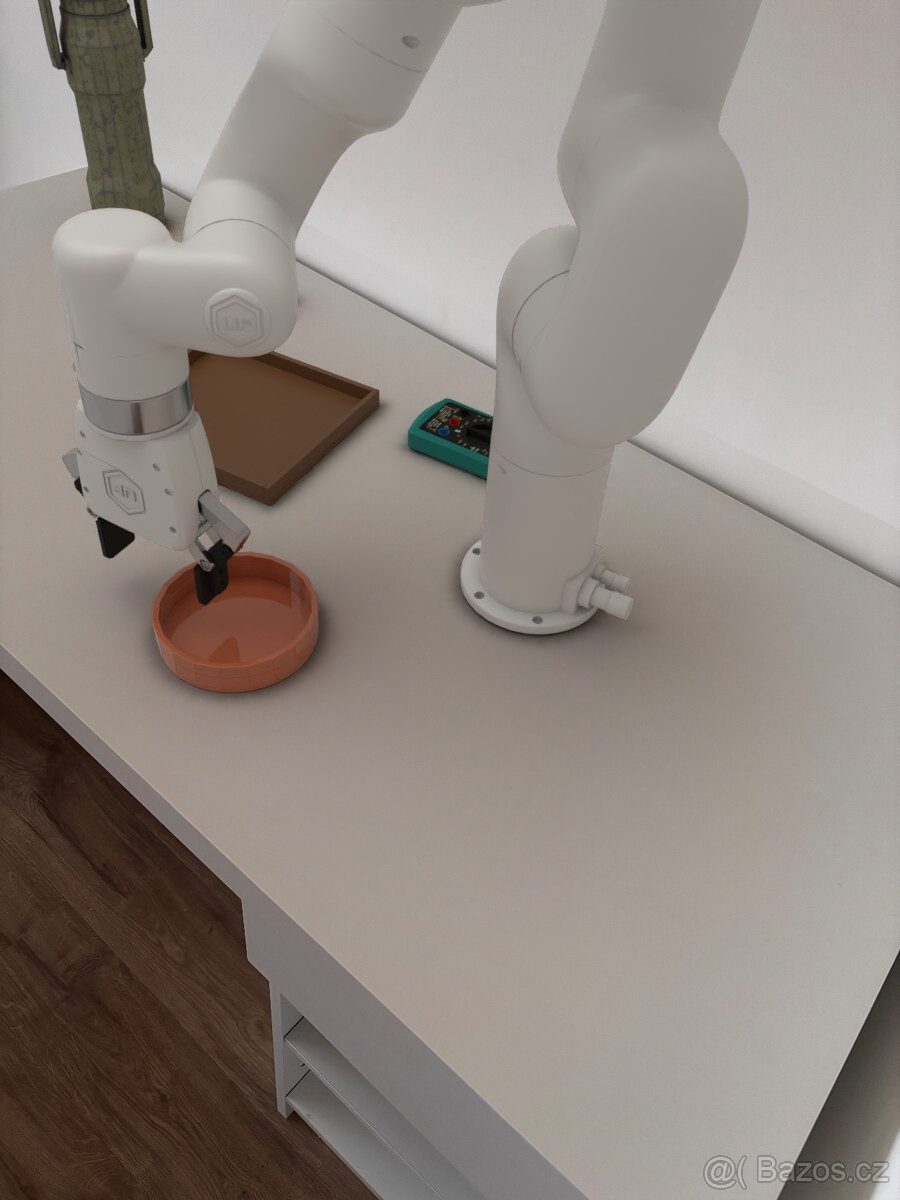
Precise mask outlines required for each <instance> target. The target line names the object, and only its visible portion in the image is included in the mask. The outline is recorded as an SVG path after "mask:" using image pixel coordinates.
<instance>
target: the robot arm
mask: <svg viewBox="0 0 900 1200" xmlns="http://www.w3.org/2000/svg"><path fill="white" fill-rule="evenodd" d="M504 1H505V0H286V2H285V4H284V6H283V9H282V11H281V13H280V15H279V18H278V20H277V22H276V24H275V26H274V28H273V30H272V32H271V33H270V34H271V35H270V36H269V39H268V41H267V42H266V44H265V46H264V47H263V50H261V53H260V54H259V56H258V58H257V61H256V63H255V65H254V68H253V70H252V72H251V74H250V76H249V77H248V79H247V81H246V83H245V84H244V86H243V88H242V90H241V92H240V93H239V94H238V97H237V99H236V101H235V102H234V105H233V107H232V108H231V111H230V113H229V114H228V117H227V119H226V122H225V123H224V124H223V125H224V126H223V128H222V129H221V131H220V133H219V136H218V139H217V141H216V143H215V145H214V148H213V150H212V152H211V153H210V157H209V159H208V161H207V163H206V166H205V168H204V170H203V173H202V175H201V177H200V179H199V182H198V183H197V186H196V188H195V191H194V193H193V195H192V198H191V201H190V204H189V206H188V209H187V213H186V217H185V221H184V225H183V226H184V227H183V233H182V241H181V242H179V241H176V240H175V239H173V237H172V234H171V233H170V231H169V230H168V228H167V226H166V227H165V226H164V225H163V224H162V223H161V222H160V221H159V220H158V219H156V218H154V217H152V216H150V215H148V214H146V213H144V212H141V211H137V210H132V209H126V208H103V209H95V210H92V209H91V210H86V211H84V212H80V213H78V214H76V215H73V216H71V217H69V218H67V220H65V221H64V222H63V223H62V224H60V226H59V227H58V228H57V230H56V231H55V233H54V235H53V238H52V243H51V257H52V263H53V269H54V275H55V279H56V284H57V288H58V292H59V297H60V303H61V308H62V312H63V316H64V322H65V327H66V332H67V337H68V340H69V345H70V351H71V356H72V361H73V362H72V368H73V371H74V372H75V375H76V381H77V385H78V390H79V394H80V397H79V398H78V400H77V402H76V409H75V416H74V433H75V434H74V438H75V447H73V448H71V449H70V450H69V451H67V452H66V453H65V454H63V455H62V456H61V460H62V463H63V464H64V466H65V468H66V469H67V471H68V473H69V474H70V476H71V478H72V479H73V478H74V481H73V485H74V488H75V490H76V491H78V493H79V494H80V495H81V496H82V497H83V499H84V501H85V504H86V511H87V513H88V514H89V516H91V518H93V519H96V520H95V525H96V530H97V535H98V539H99V543H100V548H101V552H102V556H103V557H104V558H106V559H108V560H112V559H113V558H115V557H117V556H118V555H119V554H120V553H121V552H122V551H124V550H125V549H126V548H127V547H129V546H130V545H131V544H132V543H133V542H135V539H136V536H139V537H141V538H143V539H145V540H147V541H150V542H152V543H154V544H156V545H159V546H161V547H163V548H165V549H169V550H171V551H176V552H177V551H178V552H181V551H185V550H188V552H189V553H190V555H191V556H192V557H193V558H194V560H195V562H196V561H197V562H198V563H197V564H196V565H195V567H194V577H195V585H196V592H197V599H198V601H199V603H201V604H203V605H207V604H208V603H209V602H210V601H211V600H213V599H214V598H215V597H216V596H217V595H219V594H221V593H222V592H223V591H224V590H225V589H226V588H227V586H228V583H229V577H228V567H227V561H228V560H229V559H230V558H231V557H232V556H234V555H235V554H236V553H237V552H240V551H241V549H242V548H244V545H245V543H246V542H247V540H248V538H249V537H250V535H251V533H252V532H251V529H250V527H249V526H248V525H247V524H246V523H244V521H242V519H240V518H239V517H238V516H237V515H235V513H233V511H231V510H230V509H229V508H228V507H227V506H226V505H224V504H223V503H222V502H221V501H220V493H219V486H218V485H219V484H218V483H217V479H216V474H215V468H214V464H213V459H212V455H211V451H210V447H209V443H208V440H207V437H206V433H205V430H204V427H203V424H202V421H201V418H200V416H199V414H198V413H197V412H196V411H194V402H193V394H192V386H191V377H190V369H189V361H188V352H187V349H193V350H197V351H202V352H207V353H212V354H217V355H223V356H231V357H255V356H260V355H264V354H267V353H269V352H271V351H275V350H277V349H279V348H280V347H281V346H282V345H284V343H285V342H286V341H287V340H288V339H289V338H290V336H291V334H292V333H293V330H294V329H295V327H296V326H295V325H296V323H297V318H298V312H299V294H298V293H299V291H298V289H299V288H298V271H297V262H296V261H297V260H296V259H297V257H296V241H297V238H298V235H299V234H300V231H301V229H302V226H303V224H304V222H305V220H306V218H307V216H308V214H309V212H310V210H311V208H312V207H313V204H314V203H315V200H316V199H317V197H318V195H319V193H320V191H321V190H322V188H323V186H324V184H325V182H326V181H327V179H328V177H329V176H330V173H331V172H332V170H333V169H334V167H335V165H337V163H338V161H339V160H340V159H341V158H342V156H343V155H344V154H345V153H346V151H347V150H348V149H349V148H350V147H351V146H352V145H353V144H355V142H356V141H358V140H359V139H361V138H363V137H365V136H368V135H372V134H377V133H381V132H383V131H388V130H389V129H391V128H393V127H394V126H396V125H397V124H398V123H399V122H400V121H401V120H402V118H403V117H404V116H405V115H406V113H407V111H408V110H409V108H410V106H411V105H412V102H413V100H414V98H415V96H416V94H417V93H418V91H419V89H420V87H421V84H423V81H424V79H425V78H426V75H427V74H428V73H429V70H430V68H431V67H432V65H433V63H434V61H435V60H436V57H437V55H439V54H438V53H439V51H440V50H441V48H442V46H443V44H444V42H445V41H446V39H447V37H448V36H449V34H450V31H451V30H452V28H453V26H454V25H455V23H456V21H457V19H458V17H459V15H460V14H461V11H462V10H463V8H470V7H476V6H484V5H491V4H495V3H496V4H497V3H500V2H504ZM762 1H763V0H606V3H605V6H604V10H603V14H602V17H601V21H600V24H599V26H598V29H597V32H596V36H595V38H594V42H593V43H592V46H591V47H592V48H591V50H590V53H589V56H588V59H587V62H586V65H585V68H584V71H583V73H582V77H581V80H580V83H579V85H578V89H577V92H576V94H575V98H574V101H573V103H572V106H571V108H570V112H569V115H568V117H567V120H566V122H565V127H564V129H563V132H562V134H561V138H560V140H559V145H558V149H557V155H556V175H557V180H558V183H559V186H560V190H561V192H562V195H563V199H564V201H565V203H566V206H567V208H568V210H569V212H570V214H571V216H572V219H573V221H574V223H575V224H560V225H556V226H551V227H548V228H545V229H543V230H540V231H539V232H537V233H535V234H533V235H532V236H530V238H528V239H526V241H525V242H524V243H523V244H521V245H520V246H519V247H518V249H517V250H516V251H515V252H514V253H513V255H512V257H511V258H510V259H509V261H508V263H507V266H506V267H505V269H504V272H503V274H502V277H501V281H500V284H499V287H498V294H497V300H496V314H495V387H494V388H495V390H494V402H493V403H494V405H493V415H492V416H493V426H492V433H491V443H490V453H489V464H488V475H487V479H486V487H485V497H484V499H485V500H484V509H483V518H482V519H483V520H482V529H481V538H480V539H479V540H478V541H476V542H475V543H474V544H473V545H471V546H470V548H469V549H468V551H466V553H465V554H464V557H463V559H462V562H461V566H460V575H459V578H460V579H459V582H460V587H461V591H462V595H463V596H464V598H465V600H466V601H467V603H468V604H469V605H470V607H471V608H473V610H474V611H475V612H476V613H477V614H479V615H480V616H481V617H482V618H484V619H485V620H486V621H488V622H491V624H494V625H496V626H498V627H500V628H503V629H506V630H509V631H511V632H512V631H513V632H517V633H522V634H528V635H549V634H550V635H551V634H557V633H563V632H567V631H569V630H572V629H574V628H576V627H579V626H581V625H582V624H584V623H585V622H587V621H588V620H590V619H591V618H592V617H593V616H594V615H595V614H596V612H597V611H598V610H599V609H600V610H603V611H604V612H605V613H607V614H609V615H610V616H613V617H616V618H618V619H621V620H624V621H626V620H627V619H628V617H629V615H630V614H631V611H632V609H633V607H634V603H635V598H633V597H631V596H628V595H626V593H627V591H628V590H629V588H630V585H631V582H632V579H631V578H629V577H627V576H624V575H622V574H621V573H615V572H613V571H610V570H609V569H607V565H604V564H603V558H604V555H605V553H604V552H605V547H603V546H601V545H598V544H596V542H597V536H598V531H599V527H600V523H601V521H600V520H601V516H602V511H603V506H604V501H605V496H606V490H607V485H608V480H609V475H610V470H611V465H612V460H613V456H614V455H613V454H614V452H615V447H616V446H617V445H621V444H623V443H625V442H627V441H629V440H631V439H632V438H634V437H636V436H637V435H639V434H640V433H642V432H643V431H645V429H646V428H648V427H649V426H650V425H651V424H652V423H653V422H654V421H655V420H656V419H657V418H658V417H659V415H660V414H662V411H663V410H664V409H665V408H666V406H667V405H668V403H669V402H670V401H671V399H672V397H673V396H674V394H675V392H676V390H677V389H678V387H679V385H680V382H681V381H682V379H683V378H684V375H685V373H686V371H687V369H688V367H689V365H690V363H691V361H692V359H693V356H694V355H695V352H696V350H697V348H698V346H699V345H700V342H701V340H702V339H703V336H704V334H705V332H706V330H707V328H708V326H709V324H710V321H711V319H712V317H713V315H714V312H715V311H716V309H717V306H718V305H719V302H720V300H721V298H722V296H723V294H724V292H725V290H726V287H727V285H728V283H729V281H730V279H731V277H732V274H733V273H734V270H735V267H736V265H737V263H738V261H739V258H740V255H741V252H742V249H743V247H744V242H745V238H746V234H747V228H748V221H749V211H750V210H749V209H750V208H749V207H750V204H749V203H750V201H749V191H748V185H747V181H746V177H745V173H744V171H743V169H742V167H741V164H740V162H739V160H738V158H737V156H736V155H735V153H734V152H733V150H732V149H731V147H730V146H729V144H727V142H726V141H725V139H724V138H723V136H722V135H721V134H720V129H719V125H720V120H721V116H722V111H723V108H724V106H725V102H726V100H727V96H728V94H729V91H730V89H731V86H732V83H733V82H734V79H735V76H736V74H737V71H738V69H739V66H740V63H741V60H742V58H743V54H744V51H745V48H746V46H747V44H748V40H749V38H750V35H751V33H752V30H753V27H754V24H755V22H756V19H757V16H758V13H759V11H760V7H761V5H762ZM204 533H205V534H206V535H207V536H208V538H209V539H210V541H211V542H212V543H213V544H212V546H210V547H209V548H208V549H206V548H205V546H204V545H203V543H202V542H201V540H200V539H199V538H200V537H201V536H202V535H203V534H204ZM606 586H607V587H609V588H610V589H612V590H610V589H607V588H606Z"/></svg>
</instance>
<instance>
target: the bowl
mask: <svg viewBox="0 0 900 1200" xmlns="http://www.w3.org/2000/svg"><path fill="white" fill-rule="evenodd" d="M197 563H198V562H197V561H196V560H195V561H194V562H192V563H190V564H188V565H186V566H184V567H182V568H180V569H178V571H177V572H176V573H174V575H172V576H171V577H170V578H169V579H168V580H167V581H166V582H164V583H163V585H162V586H161V588H160V590H159V592H158V594H157V595H156V597H155V599H154V600H153V607H152V613H151V614H152V615H151V623H152V628H153V631H154V633H153V634H154V636H155V637H154V638H155V641H156V645H157V647H158V650H159V654H160V656H161V659H162V661H163V663H164V664H165V665H166V667H167V669H169V671H171V672H172V673H173V674H174V675H175V676H176V677H177V678H179V679H180V680H182V681H184V682H186V683H187V684H189V685H191V686H194V687H196V688H199V689H202V690H206V691H210V692H217V693H245V692H252V691H256V690H260V689H264V688H267V687H270V686H273V685H275V684H277V683H280V682H282V681H283V680H285V679H286V678H288V677H290V676H292V675H293V674H294V673H296V672H297V671H298V670H300V668H301V667H302V666H303V665H304V664H305V663H306V662H307V661H308V660H309V658H310V657H311V655H312V653H313V652H314V651H315V648H316V645H317V642H318V638H319V633H320V625H319V622H320V621H319V604H318V603H319V602H318V593H317V591H316V589H315V586H314V585H313V584H312V581H311V579H310V578H309V577H308V576H307V575H306V574H305V573H304V572H302V570H300V569H299V568H298V567H297V566H296V565H295V564H293V563H291V562H288V561H287V560H284V559H282V558H279V557H277V556H275V555H272V554H266V553H260V552H255V551H238V552H237V553H236V554H235V555H234V556H232V557H231V558H230V559H229V560H228V561H227V567H228V577H229V583H228V586H227V588H226V589H225V590H224V591H223V592H222V593H221V594H219V595H217V596H216V597H215V598H214V599H213V600H211V601H210V602H209V603H208V604H207V605H203V604H201V603H199V601H198V599H197V592H196V585H195V577H194V567H195V565H196V564H197Z"/></svg>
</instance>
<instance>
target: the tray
mask: <svg viewBox="0 0 900 1200" xmlns="http://www.w3.org/2000/svg"><path fill="white" fill-rule="evenodd" d="M187 352H188V361H189V369H190V377H191V386H192V394H193V402H194V411H196V412H197V413H198V414H199V416H200V418H201V421H202V424H203V427H204V430H205V433H206V437H207V440H208V443H209V447H210V451H211V455H212V459H213V464H214V468H215V474H216V479H217V485H221V486H223V487H226V488H228V489H231V490H233V491H235V492H237V493H240V494H242V495H244V496H246V497H248V498H251V499H253V500H256V501H258V502H261V503H263V504H266V505H268V506H272V505H273V503H275V502H276V501H277V500H278V499H279V498H280V497H281V496H283V494H284V493H286V492H287V491H288V490H289V489H290V488H291V487H292V486H293V485H294V484H296V482H298V481H299V480H300V479H301V478H302V477H303V476H304V475H305V474H307V473H308V472H309V471H310V470H311V469H312V468H313V467H314V466H315V465H316V464H318V463H319V462H320V461H321V460H322V459H323V458H324V457H325V456H326V455H327V454H329V452H331V451H332V450H333V449H334V448H335V447H336V446H337V445H339V444H340V442H342V441H343V440H344V439H345V438H347V436H348V435H350V434H351V433H352V432H353V431H354V430H355V429H356V428H357V427H358V426H359V425H360V424H362V422H363V421H365V420H366V419H367V418H368V417H369V416H370V415H372V414H373V413H374V412H375V411H376V410H377V409H378V408H379V407H380V389H378V388H375V387H372V386H370V385H367V384H364V383H361V382H358V381H356V380H353V379H351V378H348V377H345V376H342V375H340V374H337V373H334V372H331V371H330V370H329V371H328V370H326V369H324V368H320V367H319V366H318V367H317V366H315V365H313V364H310V363H306V362H304V361H302V360H298V359H296V358H293V357H290V356H288V355H285V354H283V353H280V352H277V351H275V350H273V351H271V352H269V353H267V354H264V355H260V356H255V357H231V356H223V355H217V354H212V353H207V352H202V351H197V350H193V349H187Z"/></svg>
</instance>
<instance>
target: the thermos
mask: <svg viewBox="0 0 900 1200" xmlns="http://www.w3.org/2000/svg"><path fill="white" fill-rule="evenodd" d="M37 3H38V8H39V9H38V10H39V14H40V18H41V24H42V27H43V34H44V38H45V42H46V48H47V51H48V55H49V58H50V61H51V65H52V67H53V68H55V69H56V70H59V71H60V70H61V71H62V70H63V71H65V75H66V81H67V83H68V86H69V88H70V89H71V91H72V92H73V95H74V100H75V105H76V109H77V116H78V120H79V126H80V131H81V136H82V141H83V147H84V152H85V158H86V161H87V162H86V163H87V171H86V177H85V181H86V186H87V192H88V197H89V202H90V207H91V210H95V209H103V208H126V209H132V210H137V211H141V212H144V213H146V214H148V215H150V216H152V217H154V218H156V219H158V220H159V221H160V222H161V223H162V224H163V225H164V226H165V227H166V228H167V220H166V216H165V206H166V203H165V197H164V189H163V188H164V187H163V183H162V174H161V173H160V171H159V169H158V167H157V165H156V163H155V157H154V152H153V151H154V150H153V144H152V138H151V132H150V124H149V119H148V112H147V105H146V98H145V91H144V90H145V86H146V81H147V77H146V70H145V69H146V68H145V64H144V63H146V58H148V57H149V55H150V54H151V53H152V51H153V50H154V41H153V36H152V29H151V21H150V15H149V14H150V13H149V7H148V0H133V7H134V13H135V21H136V23H135V21H134V18H133V15H132V11H131V5H130V3H129V2H128V0H59V5H58V11H59V15H60V21H59V30H57V27H56V21H55V16H54V11H53V6H52V1H51V0H37ZM57 31H58V33H57Z"/></svg>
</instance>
